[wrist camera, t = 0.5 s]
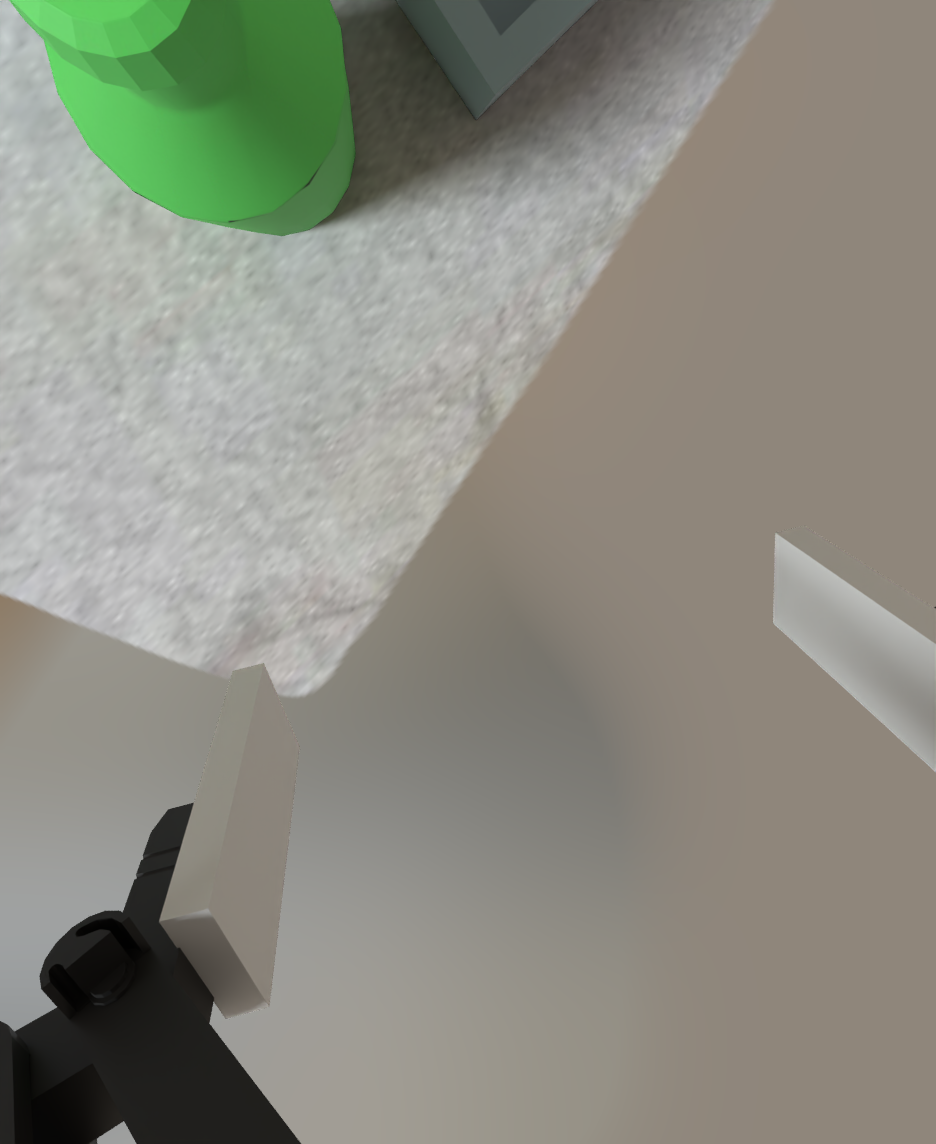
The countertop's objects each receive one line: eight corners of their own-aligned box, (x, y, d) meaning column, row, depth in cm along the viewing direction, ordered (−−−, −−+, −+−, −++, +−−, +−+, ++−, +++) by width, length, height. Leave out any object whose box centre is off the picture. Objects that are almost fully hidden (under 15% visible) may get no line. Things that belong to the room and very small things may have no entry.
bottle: (390, 151, 35) (426, -41, 12) (280, 272, 36) (138, 297, 14) (258, -13, 31) (-28, -697, 9) (143, 130, 33) (-337, -136, 11)
